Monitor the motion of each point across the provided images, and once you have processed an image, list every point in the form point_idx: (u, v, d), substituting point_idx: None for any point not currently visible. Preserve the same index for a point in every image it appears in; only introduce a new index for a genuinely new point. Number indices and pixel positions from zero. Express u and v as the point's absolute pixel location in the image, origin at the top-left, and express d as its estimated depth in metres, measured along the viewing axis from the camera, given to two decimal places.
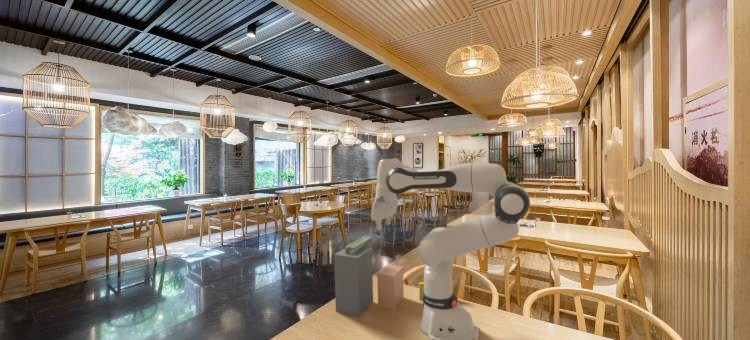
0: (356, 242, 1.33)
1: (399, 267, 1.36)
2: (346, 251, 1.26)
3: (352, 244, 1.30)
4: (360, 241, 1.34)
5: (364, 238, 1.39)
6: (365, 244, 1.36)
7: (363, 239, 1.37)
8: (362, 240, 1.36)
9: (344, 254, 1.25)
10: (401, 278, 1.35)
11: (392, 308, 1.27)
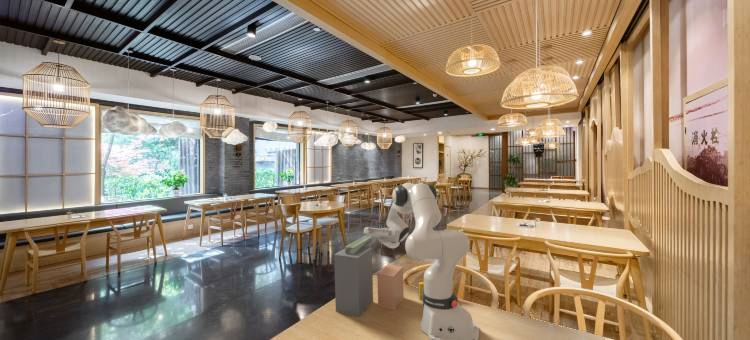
0: (356, 242, 1.33)
1: (399, 267, 1.36)
2: (346, 251, 1.26)
3: (352, 244, 1.30)
4: (360, 241, 1.34)
5: (364, 238, 1.39)
6: (365, 244, 1.36)
7: (363, 239, 1.37)
8: (362, 240, 1.36)
9: (344, 254, 1.25)
10: (401, 278, 1.35)
11: (392, 308, 1.27)
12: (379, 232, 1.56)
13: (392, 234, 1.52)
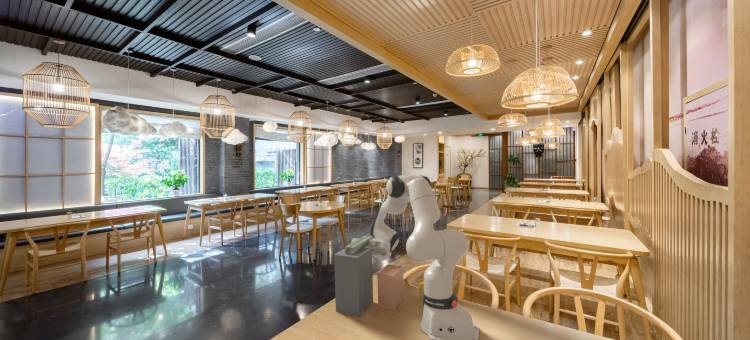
0: (356, 242, 1.33)
1: (399, 267, 1.36)
2: (346, 251, 1.26)
3: (352, 244, 1.30)
4: (360, 241, 1.34)
5: (364, 238, 1.39)
6: (365, 244, 1.36)
7: (363, 239, 1.37)
8: (362, 240, 1.36)
9: (344, 254, 1.25)
10: (401, 278, 1.35)
11: (392, 308, 1.27)
12: None
13: (381, 246, 1.39)
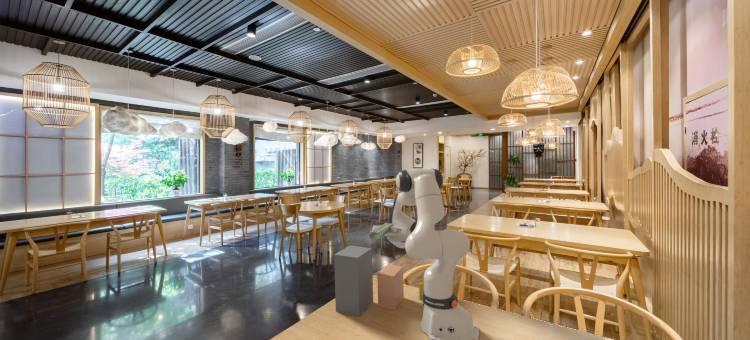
0: (379, 228, 1.35)
1: (399, 267, 1.36)
2: (370, 236, 1.29)
3: (376, 229, 1.32)
4: (383, 227, 1.37)
5: (386, 225, 1.42)
6: (387, 230, 1.39)
7: (385, 225, 1.40)
8: (384, 226, 1.38)
9: (344, 254, 1.25)
10: (401, 278, 1.35)
11: (392, 308, 1.27)
12: None
13: (403, 232, 1.42)
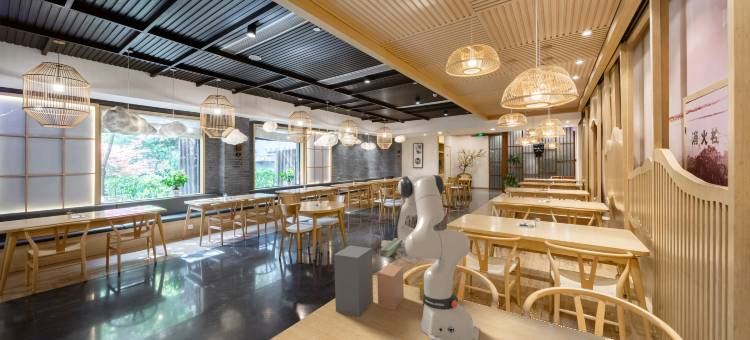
0: (389, 245, 1.34)
1: (399, 267, 1.36)
2: (381, 254, 1.27)
3: (386, 247, 1.31)
4: (393, 243, 1.35)
5: (396, 240, 1.40)
6: (398, 246, 1.37)
7: (395, 241, 1.38)
8: (395, 242, 1.37)
9: (344, 254, 1.25)
10: (401, 278, 1.35)
11: (392, 308, 1.27)
12: None
13: None
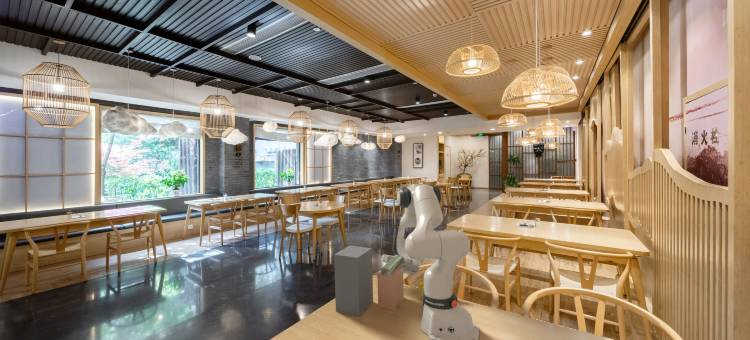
0: (390, 262, 1.34)
1: (399, 267, 1.36)
2: (382, 272, 1.28)
3: (387, 265, 1.31)
4: (394, 261, 1.35)
5: (396, 257, 1.40)
6: (398, 264, 1.37)
7: (396, 259, 1.39)
8: (395, 260, 1.37)
9: (344, 254, 1.25)
10: (401, 278, 1.35)
11: (392, 308, 1.27)
12: None
13: (413, 264, 1.40)
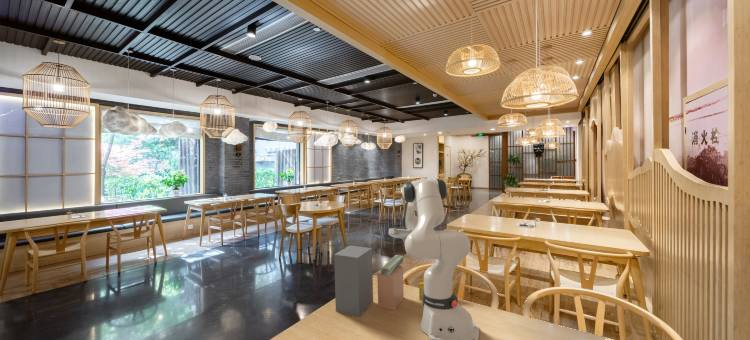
0: (390, 262, 1.34)
1: (399, 267, 1.36)
2: (382, 272, 1.28)
3: (387, 265, 1.31)
4: (394, 261, 1.35)
5: (396, 257, 1.40)
6: (398, 264, 1.37)
7: (396, 259, 1.39)
8: (395, 260, 1.37)
9: (344, 254, 1.25)
10: (401, 278, 1.35)
11: (392, 308, 1.27)
12: (405, 233, 1.53)
13: None
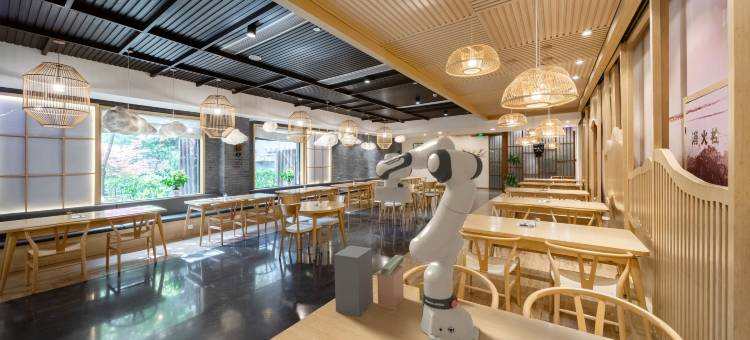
0: (390, 262, 1.34)
1: (399, 267, 1.36)
2: (382, 272, 1.28)
3: (387, 265, 1.31)
4: (394, 261, 1.35)
5: (396, 257, 1.40)
6: (398, 264, 1.37)
7: (396, 259, 1.39)
8: (395, 260, 1.37)
9: (344, 254, 1.25)
10: (401, 278, 1.35)
11: (392, 308, 1.27)
12: None
13: None
